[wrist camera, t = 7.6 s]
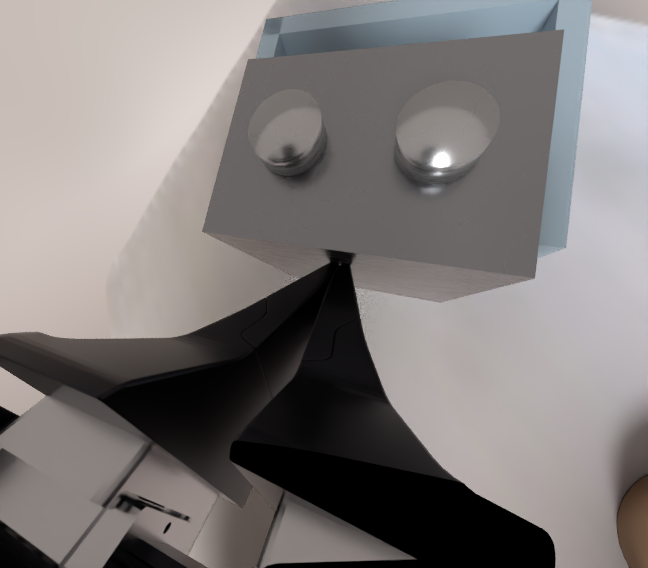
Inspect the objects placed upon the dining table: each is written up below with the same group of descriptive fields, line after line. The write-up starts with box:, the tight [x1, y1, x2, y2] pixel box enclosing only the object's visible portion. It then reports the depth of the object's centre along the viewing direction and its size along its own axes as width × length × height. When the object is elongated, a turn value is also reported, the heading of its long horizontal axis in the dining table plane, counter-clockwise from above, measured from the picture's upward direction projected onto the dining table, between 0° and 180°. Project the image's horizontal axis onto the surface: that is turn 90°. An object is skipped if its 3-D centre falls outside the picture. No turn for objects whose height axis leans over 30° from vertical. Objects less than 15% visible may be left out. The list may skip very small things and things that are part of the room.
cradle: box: [256, 0, 592, 258], centre depth 14 cm, size 13×16×5 cm
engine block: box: [202, 29, 564, 302], centre depth 11 cm, size 13×10×10 cm
